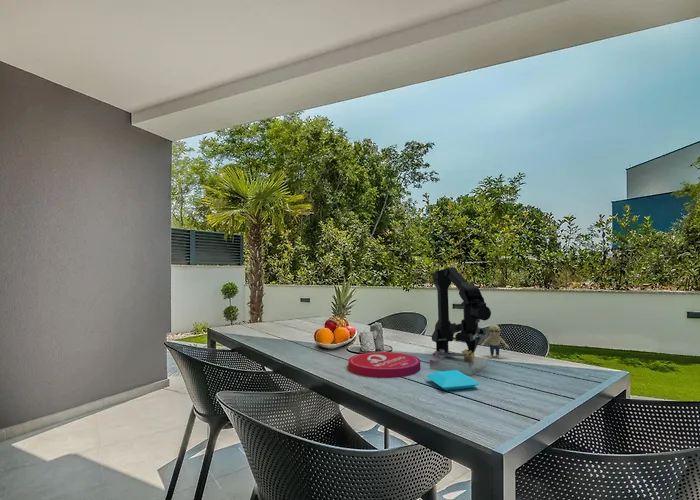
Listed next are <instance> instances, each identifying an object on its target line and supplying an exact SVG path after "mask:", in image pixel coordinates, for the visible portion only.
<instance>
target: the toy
mask: <svg viewBox="0 0 700 500" xmlns="http://www.w3.org/2000/svg"><path fill="white" fill-rule="evenodd" d="M488 333H489V336H487V338H485V339H484V341H483V342H482V343H481V344H480V347H482V346H485V344H486V343H489V353H490V354H489V356H487V358H488V359H492V358H494V354H495V356H496V358H497V359H498V360H500V359H501V360H502V357H501V356H500V345H501V344H503V345H505V346H504V347H505V348H506V347H507V348H508V349H510V346H509V344H508V343H506V341H505V340H504V339H503V338H502V337H501V336H500V334H501V328H500V326H499V325H498V324H495V323H492V324H490V325H489V326H488Z"/></svg>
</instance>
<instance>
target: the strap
mask: <svg viewBox="0 0 700 500" xmlns="http://www.w3.org/2000/svg"><path fill="white" fill-rule="evenodd" d="M440 355H448V356H464V357H467V356H469V354H468V355H467V354H462V352H442V351H440Z"/></svg>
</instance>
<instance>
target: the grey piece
mask: <svg viewBox="0 0 700 500" xmlns="http://www.w3.org/2000/svg"><path fill="white" fill-rule="evenodd" d="M439 350H440V351H442V352H444V350H443V349H439ZM434 353H435V354H434V357H433V358H431V359H429V369H432V370H439V371H452V370H457V371H459V372H461V373H463V374H465V375H467V376H475V375H476V374H477V373H479V372H481V371H482V370H484V369H486V368H488V359H487V358H488V357H487V358H485V357H479V356H474V360H468V359H464V356H448V355H440V352H439V351H436V350H435V351H434Z"/></svg>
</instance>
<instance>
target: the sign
mask: <svg viewBox="0 0 700 500" xmlns="http://www.w3.org/2000/svg"><path fill="white" fill-rule="evenodd" d="M347 362H348V364H347V365H348V370H349V372H351V373H353V374H355V375H357V376H362V377H368V378H375V377H377V379H397V378H403V377H410V376H412V375H416V374H419V372H421V359H420V358H419V357H417V356H415V355H412V354H409V353H403V352H393V351H374V352H373V351H372V352H365V353H364V352H362V353H359V354H356V355H353V356H351V357H349V358H348V361H347Z"/></svg>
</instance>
